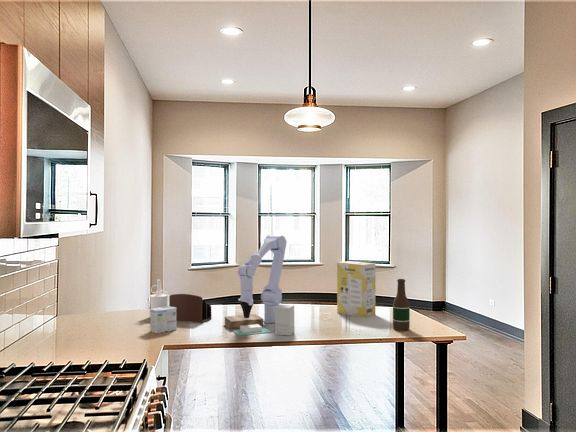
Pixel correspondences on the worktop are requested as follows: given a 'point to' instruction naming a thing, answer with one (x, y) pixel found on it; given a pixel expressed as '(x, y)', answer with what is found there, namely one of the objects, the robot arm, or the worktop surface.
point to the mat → (251, 332)
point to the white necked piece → (159, 297)
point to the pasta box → (356, 288)
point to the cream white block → (250, 328)
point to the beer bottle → (401, 309)
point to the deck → (242, 321)
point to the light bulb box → (163, 319)
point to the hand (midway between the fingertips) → (246, 317)
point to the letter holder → (190, 308)
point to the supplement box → (284, 320)
